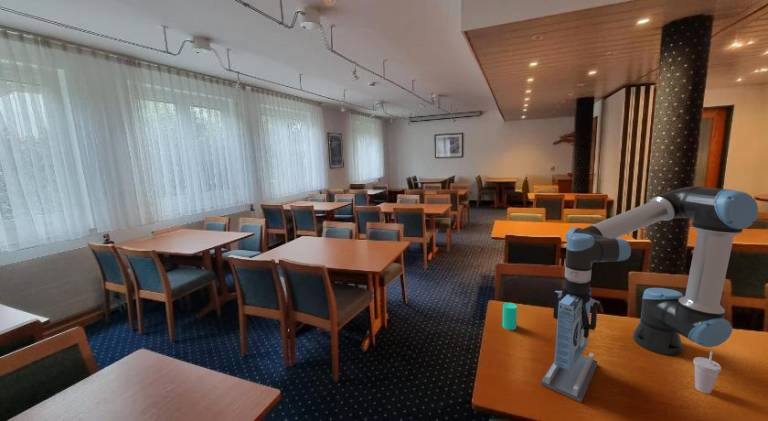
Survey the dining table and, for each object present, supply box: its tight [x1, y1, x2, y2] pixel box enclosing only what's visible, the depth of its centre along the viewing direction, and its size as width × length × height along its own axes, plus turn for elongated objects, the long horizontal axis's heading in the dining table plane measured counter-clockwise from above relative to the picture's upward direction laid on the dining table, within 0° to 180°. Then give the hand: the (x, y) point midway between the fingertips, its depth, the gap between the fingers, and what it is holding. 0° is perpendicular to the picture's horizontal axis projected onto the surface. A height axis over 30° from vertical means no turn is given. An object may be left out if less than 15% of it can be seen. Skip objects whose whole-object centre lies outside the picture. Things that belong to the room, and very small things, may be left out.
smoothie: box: [692, 350, 722, 395], centre depth 102 cm, size 6×6×14 cm
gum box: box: [554, 287, 593, 371], centre depth 109 cm, size 20×5×23 cm, turn 132°
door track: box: [540, 352, 598, 403], centre depth 112 cm, size 12×24×4 cm, turn 136°
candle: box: [502, 302, 518, 331], centre depth 144 cm, size 6×6×12 cm
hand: (572, 341), depth 110 cm, fingers closed on gum box, 5 cm apart
